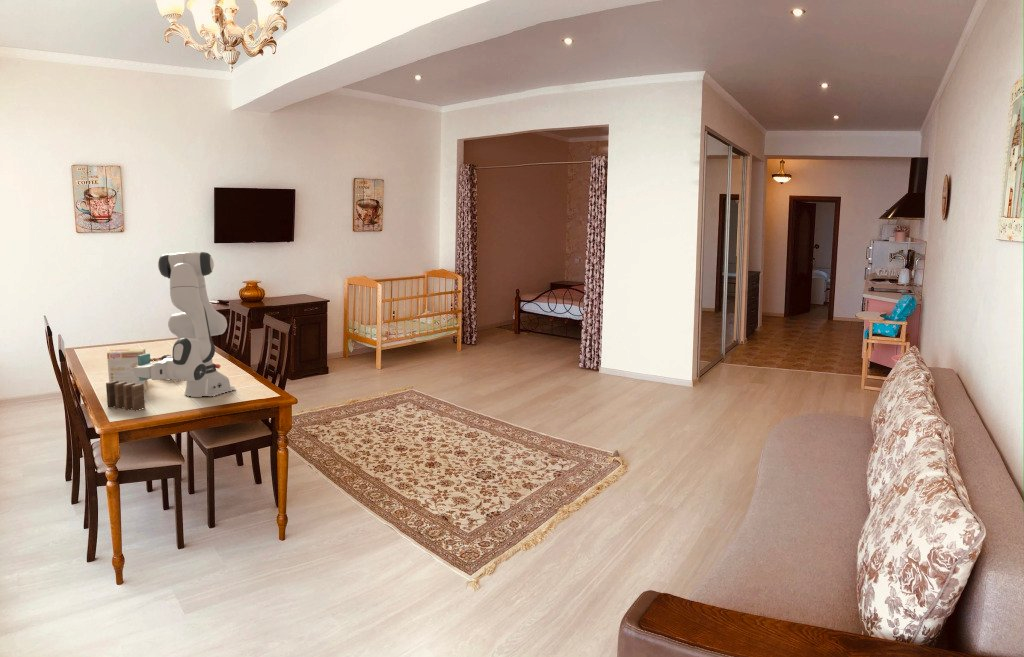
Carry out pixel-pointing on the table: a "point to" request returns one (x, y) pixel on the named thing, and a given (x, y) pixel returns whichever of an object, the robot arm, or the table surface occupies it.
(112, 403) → the end domino
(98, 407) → the table surface
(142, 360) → the teal domino
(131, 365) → the coffeecake box
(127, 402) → the walnut domino
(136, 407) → the walnut domino
